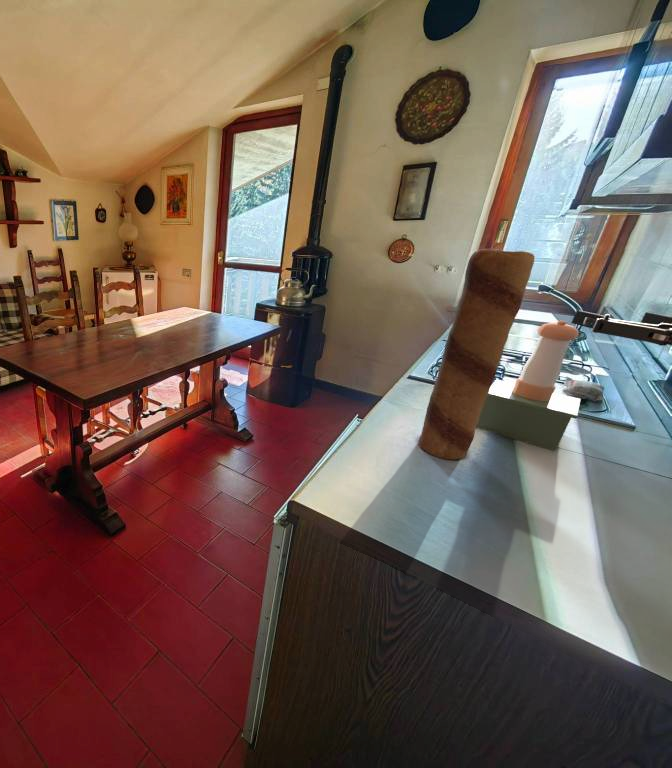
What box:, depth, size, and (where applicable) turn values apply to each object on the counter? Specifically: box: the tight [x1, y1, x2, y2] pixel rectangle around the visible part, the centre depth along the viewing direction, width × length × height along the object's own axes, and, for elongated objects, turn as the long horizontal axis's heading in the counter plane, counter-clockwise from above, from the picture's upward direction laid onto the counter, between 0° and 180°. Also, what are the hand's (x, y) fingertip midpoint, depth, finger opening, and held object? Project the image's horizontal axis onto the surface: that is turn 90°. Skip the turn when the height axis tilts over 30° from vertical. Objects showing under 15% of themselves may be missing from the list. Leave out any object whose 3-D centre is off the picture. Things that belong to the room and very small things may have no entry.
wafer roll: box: [417, 248, 536, 460], centre depth 84 cm, size 10×11×45 cm
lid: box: [487, 379, 582, 420], centre depth 98 cm, size 17×14×1 cm
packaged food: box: [562, 380, 605, 403], centre depth 122 cm, size 9×12×5 cm
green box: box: [476, 396, 572, 452], centre depth 101 cm, size 16×14×9 cm
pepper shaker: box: [512, 320, 579, 401], centre depth 95 cm, size 7×7×19 cm
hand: (609, 317), depth 81 cm, fingers open, 13 cm apart
